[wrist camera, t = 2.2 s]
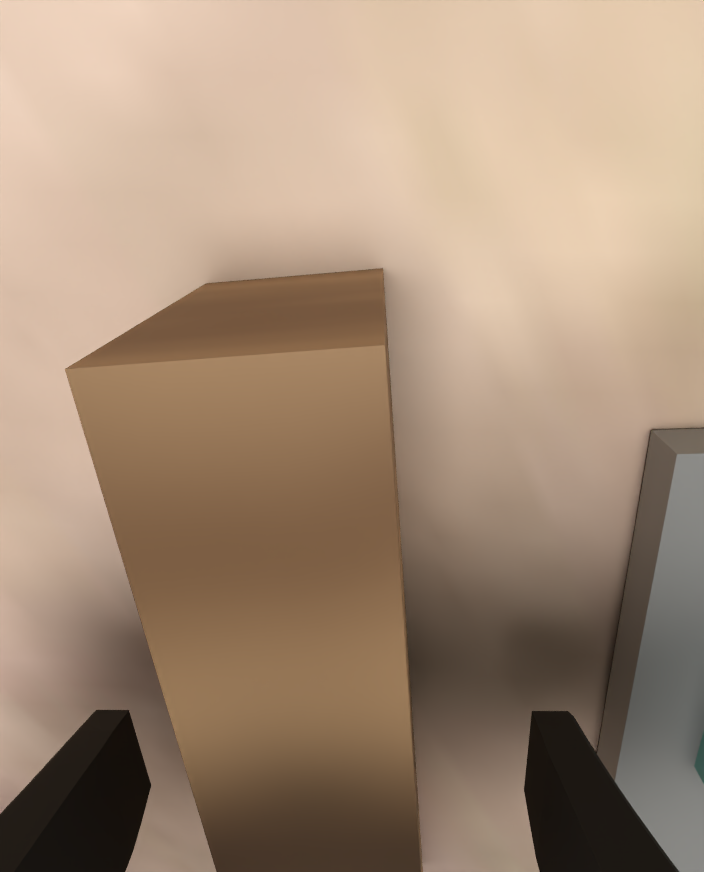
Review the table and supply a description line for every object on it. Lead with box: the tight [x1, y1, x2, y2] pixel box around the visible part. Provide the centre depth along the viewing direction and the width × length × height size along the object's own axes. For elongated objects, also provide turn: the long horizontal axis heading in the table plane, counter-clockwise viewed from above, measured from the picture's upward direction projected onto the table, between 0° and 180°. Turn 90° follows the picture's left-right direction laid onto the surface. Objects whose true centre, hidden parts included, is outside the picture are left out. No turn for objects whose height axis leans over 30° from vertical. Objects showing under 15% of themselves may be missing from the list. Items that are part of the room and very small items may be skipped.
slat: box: [65, 268, 423, 872], centre depth 11 cm, size 16×3×5 cm, turn 5°
